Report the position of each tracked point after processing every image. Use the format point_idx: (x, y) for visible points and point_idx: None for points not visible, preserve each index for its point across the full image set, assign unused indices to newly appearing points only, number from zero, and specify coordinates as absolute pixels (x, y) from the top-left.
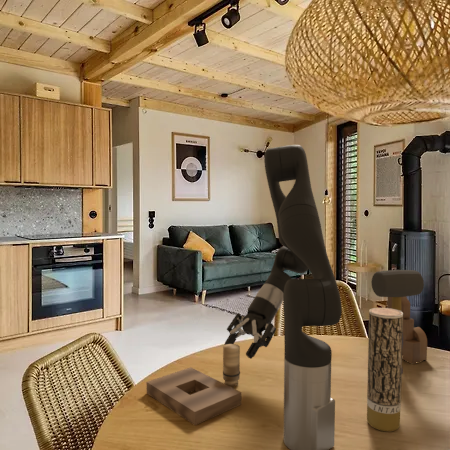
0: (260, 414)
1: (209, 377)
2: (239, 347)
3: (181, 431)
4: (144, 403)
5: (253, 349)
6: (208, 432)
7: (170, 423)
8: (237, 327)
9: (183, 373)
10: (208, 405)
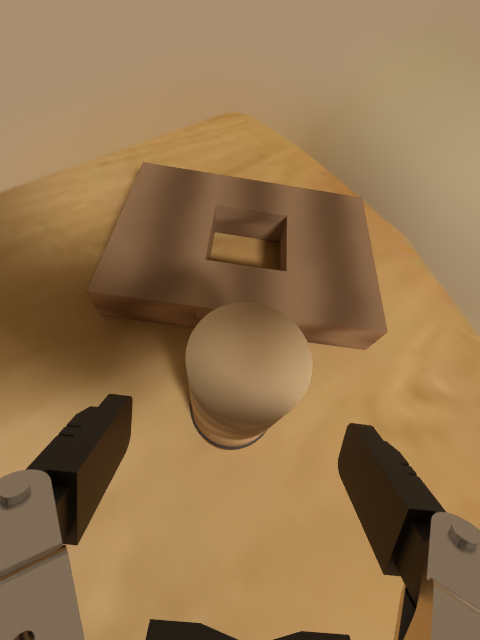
0: (12, 304)
1: None
2: (192, 384)
3: None
4: None
5: (63, 437)
6: (104, 189)
7: None
8: (457, 603)
9: (351, 281)
10: (133, 191)
